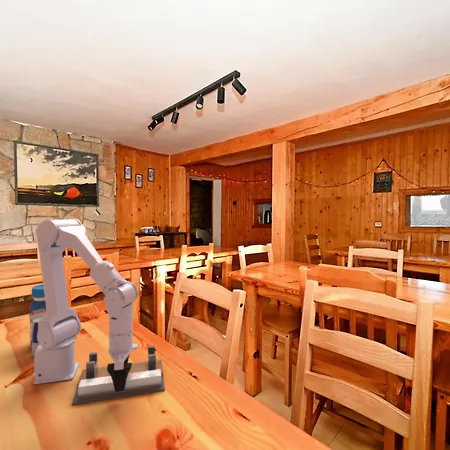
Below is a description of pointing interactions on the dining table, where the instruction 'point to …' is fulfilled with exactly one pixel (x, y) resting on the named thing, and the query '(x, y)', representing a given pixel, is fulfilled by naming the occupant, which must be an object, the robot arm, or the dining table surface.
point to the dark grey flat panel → (117, 394)
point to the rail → (106, 385)
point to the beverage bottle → (37, 305)
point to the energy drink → (35, 335)
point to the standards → (151, 364)
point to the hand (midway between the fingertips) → (120, 381)
